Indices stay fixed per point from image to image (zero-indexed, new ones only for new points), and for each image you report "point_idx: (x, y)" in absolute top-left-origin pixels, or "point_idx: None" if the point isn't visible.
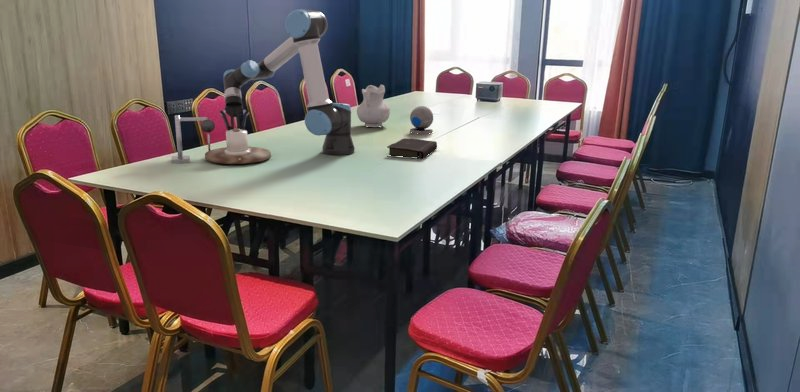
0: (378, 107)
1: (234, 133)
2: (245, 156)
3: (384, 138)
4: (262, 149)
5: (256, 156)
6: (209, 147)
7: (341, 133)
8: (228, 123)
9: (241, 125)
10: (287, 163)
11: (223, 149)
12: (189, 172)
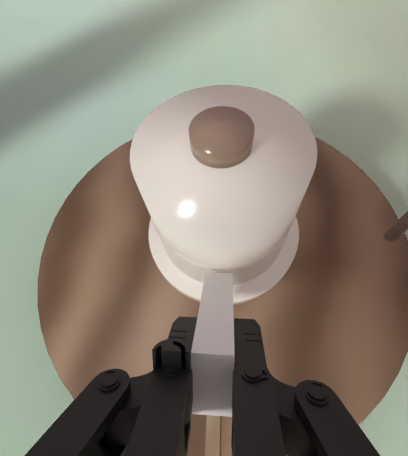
0: None
1: (242, 87)
2: None
3: None
4: (63, 309)
5: None
6: (399, 220)
7: None
8: (331, 449)
9: (122, 393)
10: (46, 144)
11: (313, 373)
12: (398, 90)
